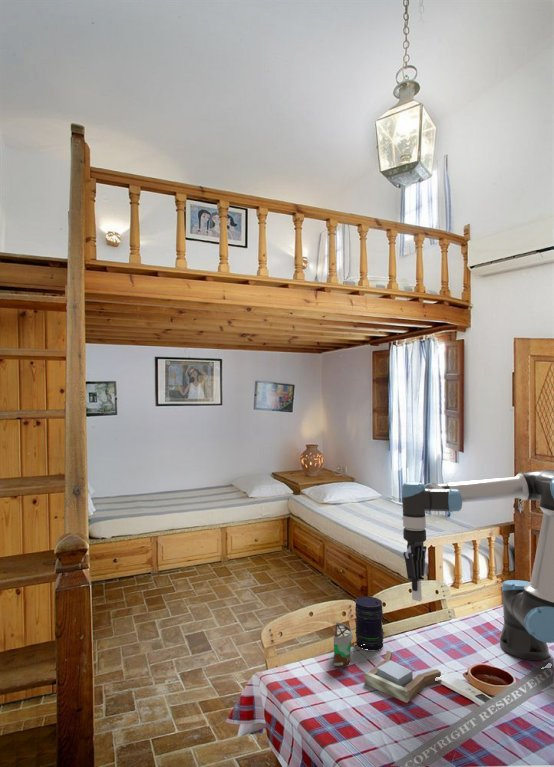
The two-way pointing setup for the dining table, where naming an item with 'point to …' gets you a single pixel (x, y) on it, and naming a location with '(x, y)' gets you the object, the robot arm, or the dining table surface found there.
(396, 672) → the grey rectangular block
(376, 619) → the storage jar
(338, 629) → the food container
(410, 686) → the brown angular open frame
